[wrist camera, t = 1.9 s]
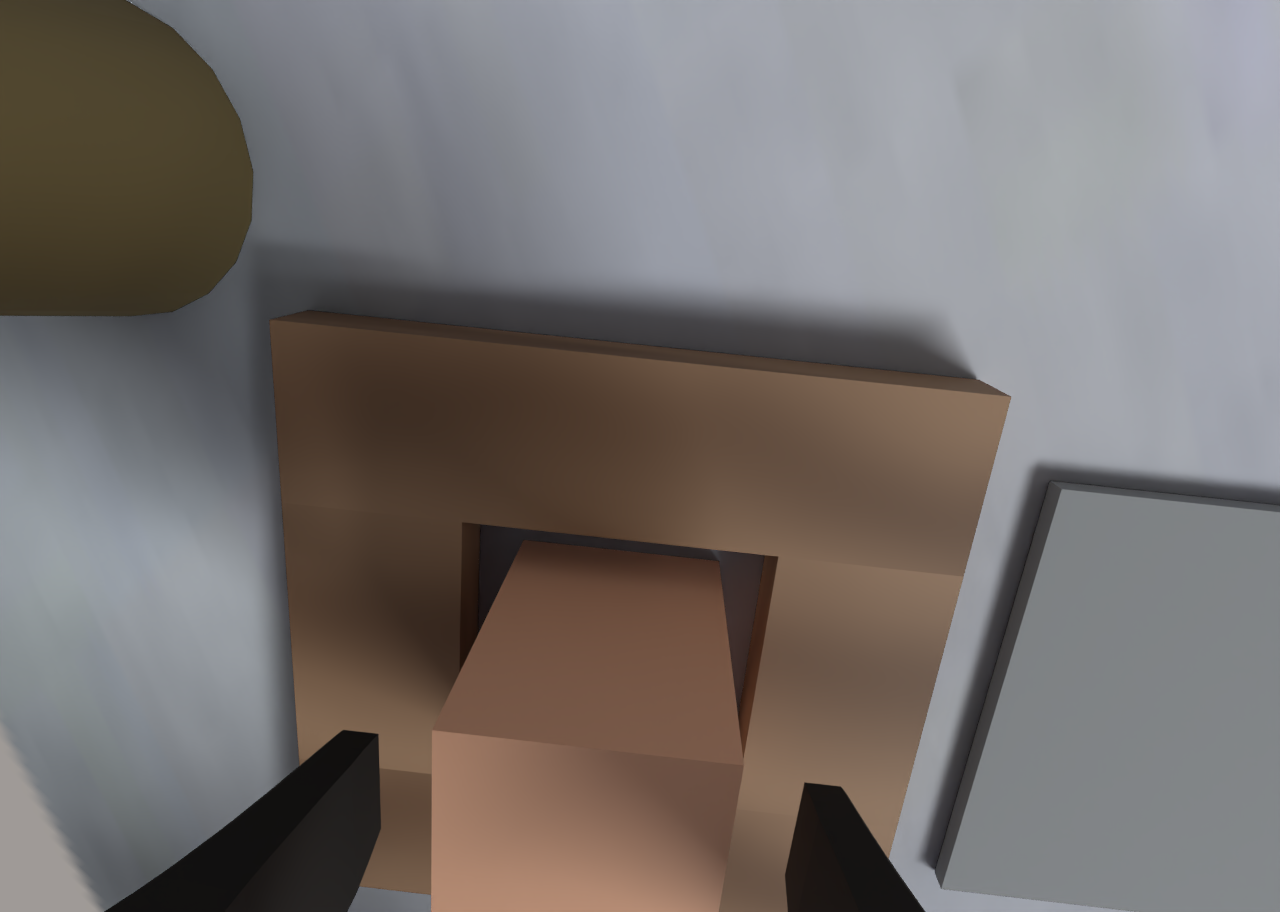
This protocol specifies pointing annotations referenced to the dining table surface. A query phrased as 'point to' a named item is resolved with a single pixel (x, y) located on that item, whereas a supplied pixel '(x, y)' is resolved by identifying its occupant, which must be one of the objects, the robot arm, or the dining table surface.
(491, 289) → the dining table surface
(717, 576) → the block
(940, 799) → the dining table surface
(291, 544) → the holder
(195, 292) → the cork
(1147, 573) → the mat
